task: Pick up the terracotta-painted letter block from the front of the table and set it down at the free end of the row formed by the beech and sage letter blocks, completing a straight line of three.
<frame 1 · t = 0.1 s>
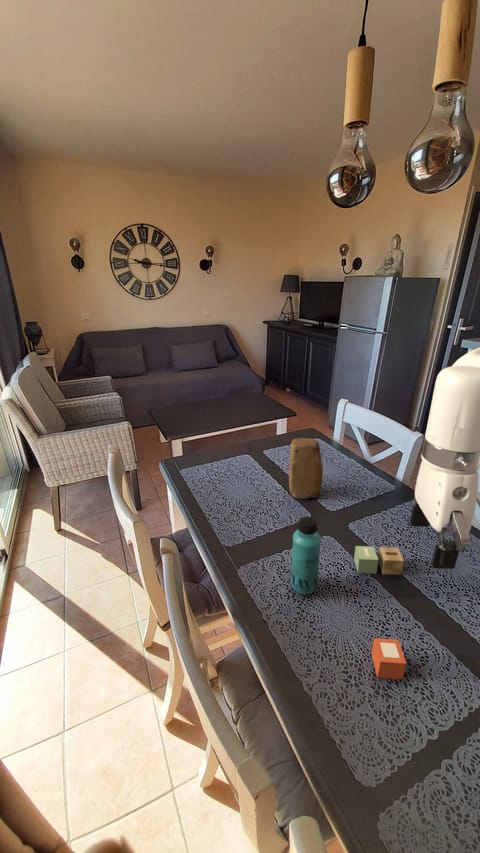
hand: (429, 544, 59), 28 cm above the table, tool pointing down, fingers open, 9 cm apart
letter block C: (386, 666, 69), on the table
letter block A: (389, 567, 92), on the table
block: (304, 494, 123), on the table
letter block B: (364, 566, 92), on the table
beverage bottle: (303, 589, 87), on the table
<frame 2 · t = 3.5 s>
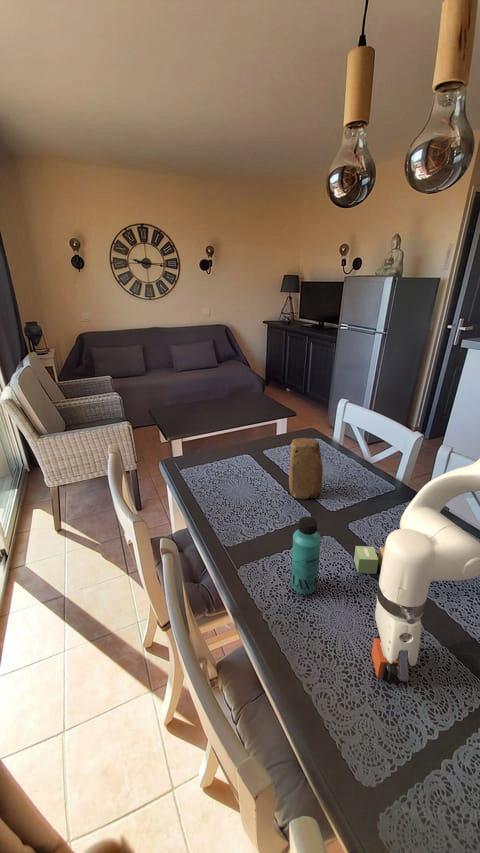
hand: (386, 665, 69), 0 cm above the table, tool pointing down, fingers closed on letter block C, 4 cm apart
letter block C: (386, 666, 69), on the table, touching gripper
everything else where it was.
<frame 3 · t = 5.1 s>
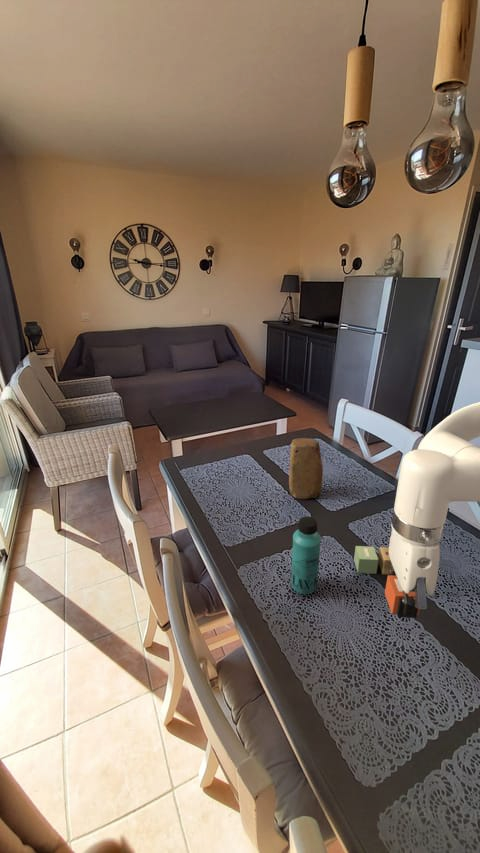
hand: (401, 602, 66), 14 cm above the table, tool pointing down, fingers closed on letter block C, 4 cm apart
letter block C: (401, 604, 66), point 13 cm above the table, touching gripper
everything else where it was.
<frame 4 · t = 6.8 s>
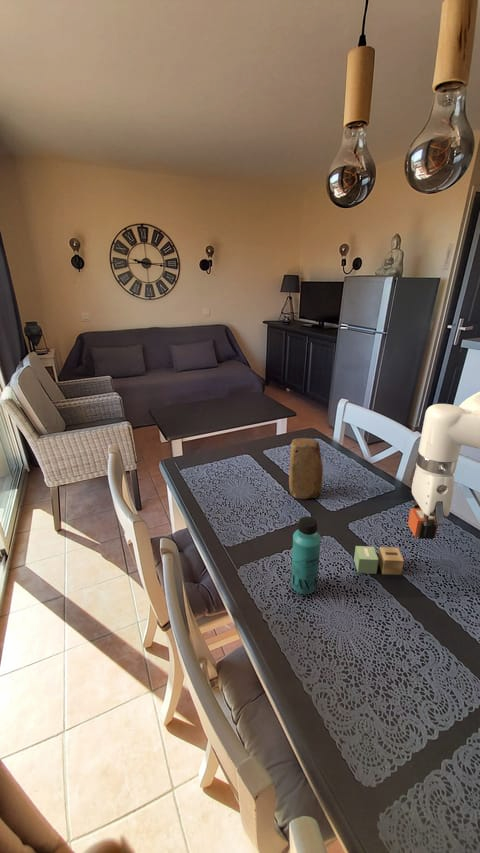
hand: (421, 529, 84), 14 cm above the table, tool pointing down, fingers closed on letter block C, 4 cm apart
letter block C: (421, 530, 84), point 13 cm above the table, touching gripper
everything else where it was.
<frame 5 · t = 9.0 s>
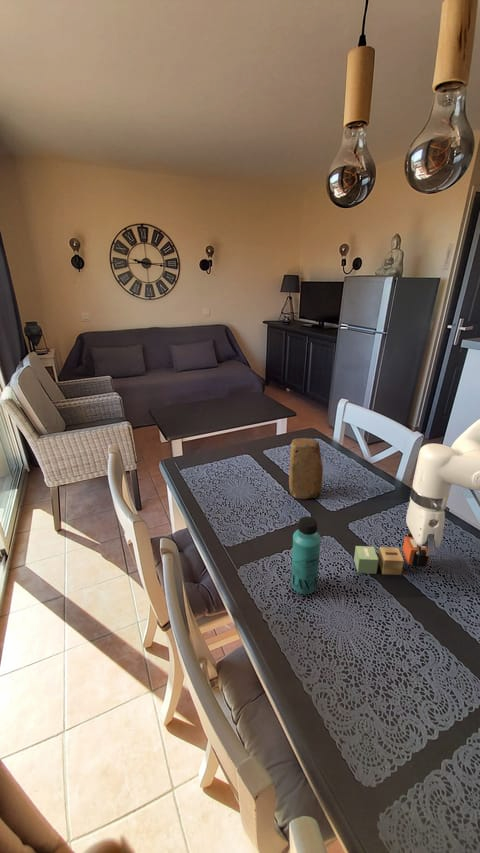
hand: (414, 557, 90), 4 cm above the table, tool pointing down, fingers closed on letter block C, 4 cm apart
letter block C: (414, 558, 90), point 3 cm above the table, touching gripper
everything else where it was.
when the fingers open (0 cm above the table, at t = 10.3 s): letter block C stays where it is, on the table.
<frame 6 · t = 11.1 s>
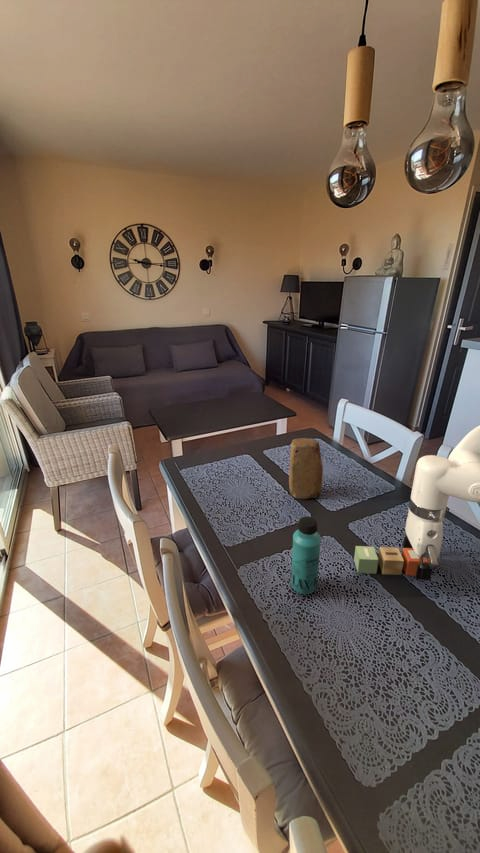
hand: (415, 563, 90), 2 cm above the table, tool pointing down, fingers open, 9 cm apart
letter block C: (412, 568, 91), on the table
everything else where it was.
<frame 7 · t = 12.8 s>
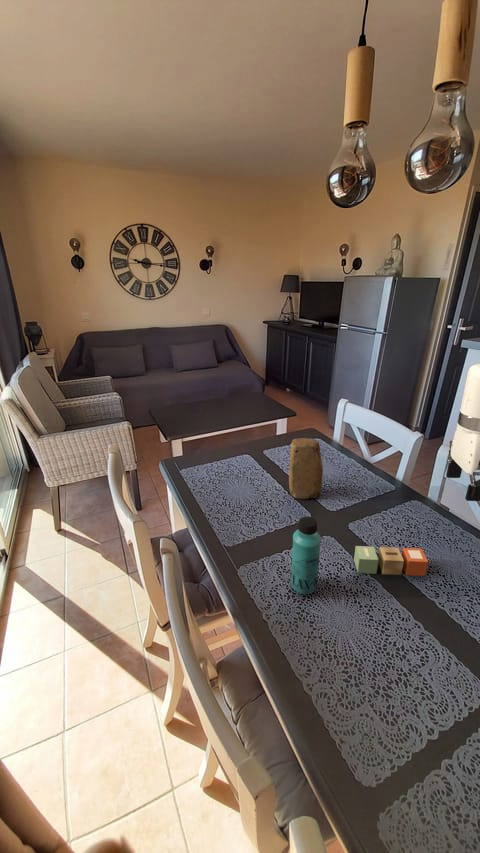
hand: (462, 488, 85), 22 cm above the table, tool pointing down, fingers open, 9 cm apart
nothing on the table moved.
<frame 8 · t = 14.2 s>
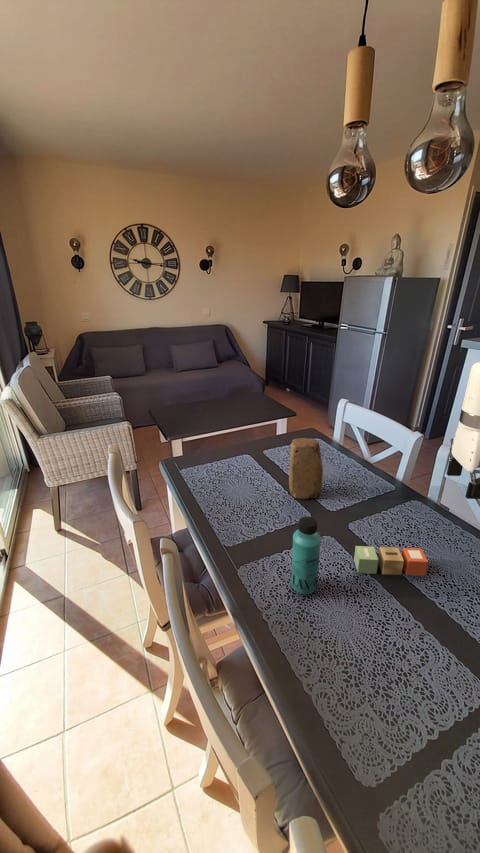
hand: (462, 486, 85), 22 cm above the table, tool pointing down, fingers open, 9 cm apart
nothing on the table moved.
at the end: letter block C 0.5 cm from the target spot on the table beside the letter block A, on the table; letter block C tilted 0°; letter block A moved 0.0 cm from its start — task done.
